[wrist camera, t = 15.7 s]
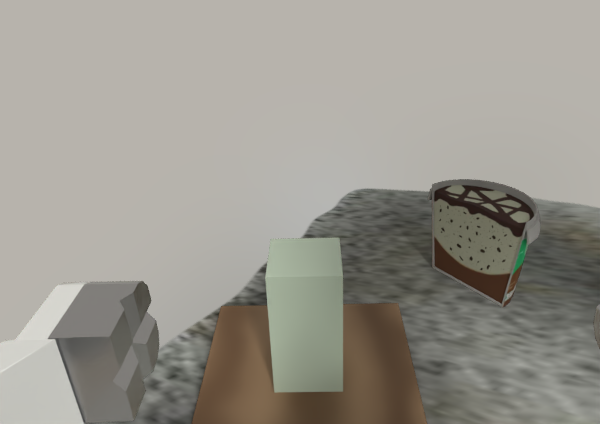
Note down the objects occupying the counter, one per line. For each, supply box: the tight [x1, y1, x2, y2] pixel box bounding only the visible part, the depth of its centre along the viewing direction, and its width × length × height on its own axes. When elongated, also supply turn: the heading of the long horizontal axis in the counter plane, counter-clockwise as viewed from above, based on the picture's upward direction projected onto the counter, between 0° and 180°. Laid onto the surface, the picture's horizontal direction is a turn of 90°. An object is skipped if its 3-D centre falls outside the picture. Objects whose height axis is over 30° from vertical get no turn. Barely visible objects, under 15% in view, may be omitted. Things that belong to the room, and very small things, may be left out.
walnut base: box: [192, 303, 427, 424], centre depth 42 cm, size 16×16×4 cm
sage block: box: [265, 238, 343, 392], centre depth 39 cm, size 5×5×10 cm
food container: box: [427, 179, 540, 307], centre depth 56 cm, size 12×6×10 cm, turn 35°
